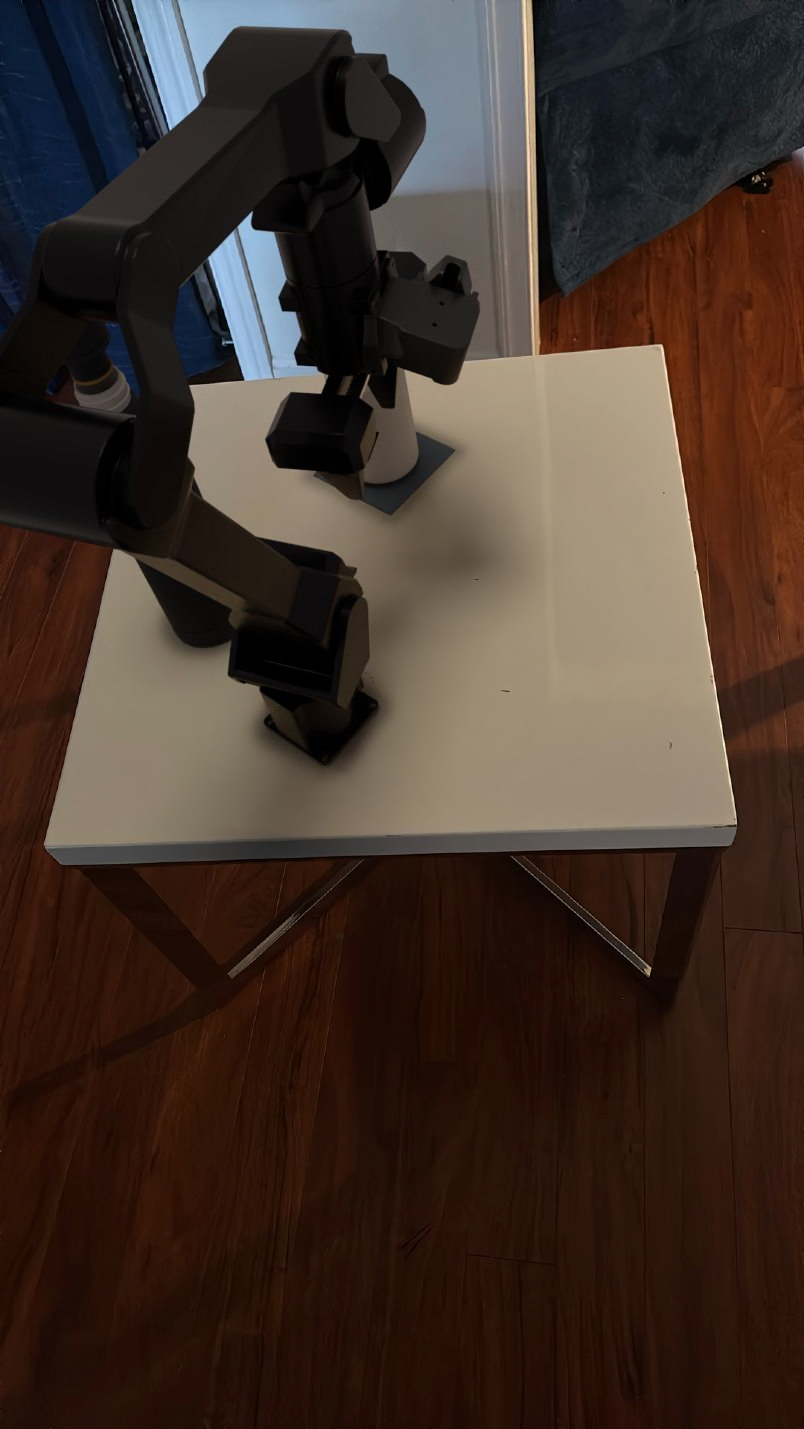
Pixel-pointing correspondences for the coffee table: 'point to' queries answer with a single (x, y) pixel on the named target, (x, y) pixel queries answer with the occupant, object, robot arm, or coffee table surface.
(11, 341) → the robot arm
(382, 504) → the felt pad
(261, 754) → the coffee table surface
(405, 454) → the beverage can
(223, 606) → the wine bottle
